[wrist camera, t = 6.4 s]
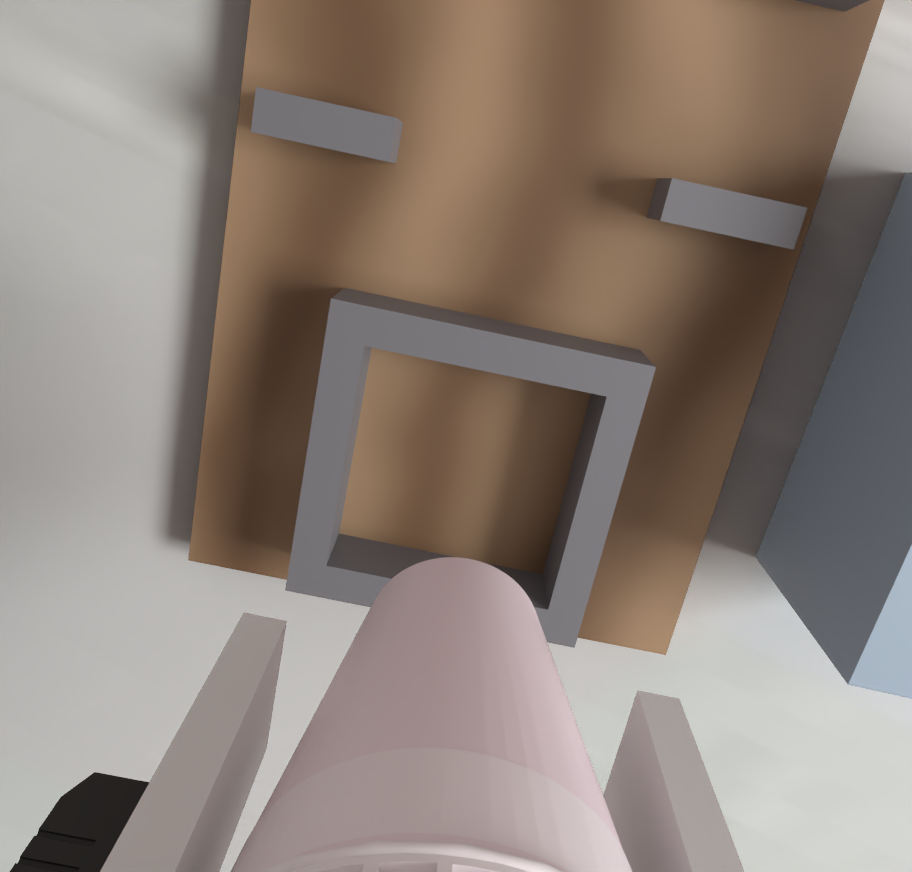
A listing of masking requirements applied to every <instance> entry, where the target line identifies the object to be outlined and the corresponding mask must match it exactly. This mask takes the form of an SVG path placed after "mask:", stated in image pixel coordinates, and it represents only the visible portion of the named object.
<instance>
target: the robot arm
mask: <svg viewBox="0 0 912 872" xmlns="http://www.w3.org/2000/svg"><path fill="white" fill-rule="evenodd" d="M286 622H287V621H283V620H278V619H273V618H268V617H263V616H258V615H253V614H248V613H243V615H242V617H241V618H240V620H239V622H238V624H237V626H236V628H235V629H234V631H233V633H232V635H231V637H230V638H229V640H228V642H227V644H226V646H225V647H224V649H223V651H222V653H221V655H220V656H219V658H218V660H217V662H216V664H215V665H214V667H213V669H212V671H211V673H210V674H209V676H208V678H207V680H206V682H205V683H204V685H203V687H202V689H201V691H200V692H199V694H198V696H197V698H196V700H195V701H194V703H193V705H192V707H191V709H190V710H189V712H188V714H187V716H186V718H185V719H184V721H183V723H182V725H181V727H180V728H179V730H178V732H177V734H176V736H175V737H174V739H173V741H172V743H171V745H170V746H169V748H168V750H167V752H166V754H165V755H164V757H163V759H162V761H161V763H160V764H159V766H158V768H157V770H156V772H155V773H154V775H153V777H152V779H151V781H150V782H143V781H138V780H133V779H128V778H122V777H117V776H112V775H107V774H101V773H96V772H94V773H93V774H92V775H90V776H89V777H88V778H86V779H85V780H84V781H82V782H81V783H79V784H78V785H77V786H75V787H74V788H73V789H71V790H70V791H69V792H67V793H66V794H64V795H63V796H62V797H61V798H60V799H59V801H58V802H57V804H56V805H55V807H54V808H53V809H52V811H51V812H50V814H49V815H48V817H47V818H46V820H45V821H44V823H43V824H42V826H41V827H40V828H39V831H38V834H37V836H34V837H33V839H32V840H31V842H30V843H29V845H28V846H27V847H26V849H25V850H24V852H23V853H22V855H21V856H20V860H19V862H18V864H16V863H15V865H14V866H13V868H12V869H11V871H10V872H219V871H220V868H221V866H222V863H223V861H224V858H225V855H226V853H227V850H228V847H229V845H230V842H231V840H232V837H233V834H234V832H235V829H236V827H237V824H238V821H239V819H240V816H241V813H242V811H243V808H244V806H245V803H246V800H247V798H248V795H249V793H250V790H251V787H252V785H253V782H254V779H255V777H256V774H257V772H258V769H259V766H260V764H261V761H262V759H263V756H264V753H265V751H266V748H267V742H268V736H269V729H270V723H271V717H272V710H273V704H274V698H275V692H276V685H277V679H278V673H279V666H280V660H281V654H282V648H283V641H284V635H285V629H286ZM603 796H604V799H605V802H606V804H607V807H608V810H609V813H610V815H611V818H612V821H613V823H614V826H615V829H616V832H617V834H618V837H619V840H620V843H621V845H622V848H623V851H624V853H625V855H626V858H627V860H628V862H629V865H630V867H631V869H632V872H744V870H743V867H742V864H741V862H740V859H739V856H738V854H737V851H736V848H735V846H734V843H733V840H732V838H731V835H730V832H729V830H728V827H727V824H726V822H725V819H724V816H723V814H722V811H721V808H720V806H719V803H718V800H717V798H716V795H715V793H714V790H713V787H712V785H711V782H710V779H709V777H708V774H707V771H706V769H705V766H704V763H703V761H702V758H701V755H700V753H699V750H698V747H697V745H696V742H695V739H694V737H693V734H692V731H691V729H690V726H689V723H688V721H687V718H686V716H685V713H684V710H683V708H682V705H681V702H680V700H679V699H678V698H673V697H668V696H662V695H657V694H652V693H647V692H642V691H637V694H636V697H635V700H634V703H633V706H632V709H631V712H630V715H629V718H628V721H627V725H626V728H625V731H624V734H623V737H622V740H621V743H620V746H619V749H618V752H617V755H616V758H615V761H614V764H613V767H612V770H611V774H610V777H609V780H608V783H607V786H606V789H605V792H604V795H603Z"/></svg>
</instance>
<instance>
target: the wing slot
mask: <svg viewBox="0 0 912 872" xmlns="http://www.w3.org/2000/svg"><path fill="white" fill-rule="evenodd" d="M795 1H800V2H804V3H808V4H813V5H817V6H822V7H826V8H830V9H835V10H839V11H844V12H845V11H848V10H850V9H852V8H854V7H856V6H858V5H860V4H863V3H865V2H867V1H869V0H795ZM402 126H403V122H402V121H400V120H399V119H397V118H395V117H391V116H386V115H382V114H377V113H372V112H368V111H363V110H359V109H354V108H350V107H345V106H340V105H336V104H331V103H327V102H322V101H318V100H313V99H308V98H304V97H299V96H295V95H290V94H286V93H281V92H276V91H272V90H267V89H263V88H258V87H256V92H255V100H254V109H253V117H252V126H251V132H253V133H258V134H262V135H267V136H272V137H276V138H281V139H286V140H290V141H295V142H299V143H304V144H309V145H313V146H318V147H322V148H327V149H332V150H336V151H341V152H345V153H350V154H355V155H359V156H364V157H368V158H373V159H378V160H382V161H387V162H392V163H396V161H397V155H398V149H399V143H400V138H401V132H402ZM806 211H807V208H806V207H802V206H797V205H793V204H788V203H784V202H779V201H774V200H770V199H765V198H761V197H756V196H752V195H747V194H742V193H738V192H733V191H729V190H724V189H720V188H715V187H710V186H706V185H701V184H697V183H692V182H688V181H683V180H679V179H674V178H657V181H656V185H655V189H654V192H653V196H652V200H651V204H650V207H649V211H648V215H647V218H650V219H655V220H659V221H663V222H668V223H673V224H677V225H682V226H687V227H691V228H696V229H700V230H705V231H710V232H714V233H719V234H723V235H728V236H733V237H737V238H742V239H746V240H751V241H756V242H760V243H765V244H770V245H774V246H779V247H783V248H788V249H793V250H794V247H795V244H796V241H797V238H798V235H799V232H800V229H801V226H802V223H803V220H804V217H805V214H806Z"/></svg>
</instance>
